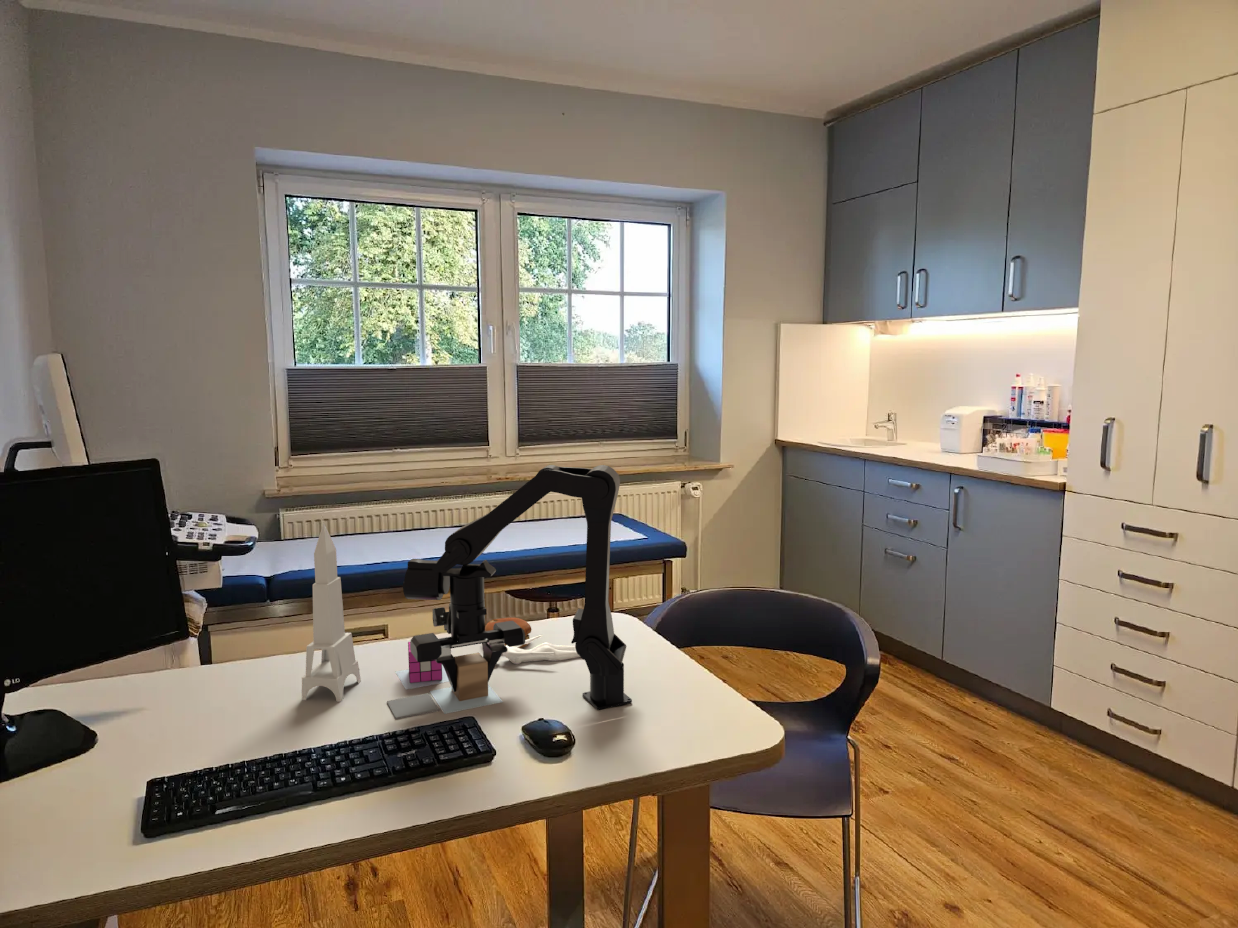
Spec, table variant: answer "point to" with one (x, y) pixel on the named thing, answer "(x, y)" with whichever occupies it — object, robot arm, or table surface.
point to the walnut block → (471, 676)
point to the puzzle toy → (423, 669)
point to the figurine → (540, 652)
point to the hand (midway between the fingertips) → (469, 687)
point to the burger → (520, 622)
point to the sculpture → (328, 626)
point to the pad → (412, 706)
